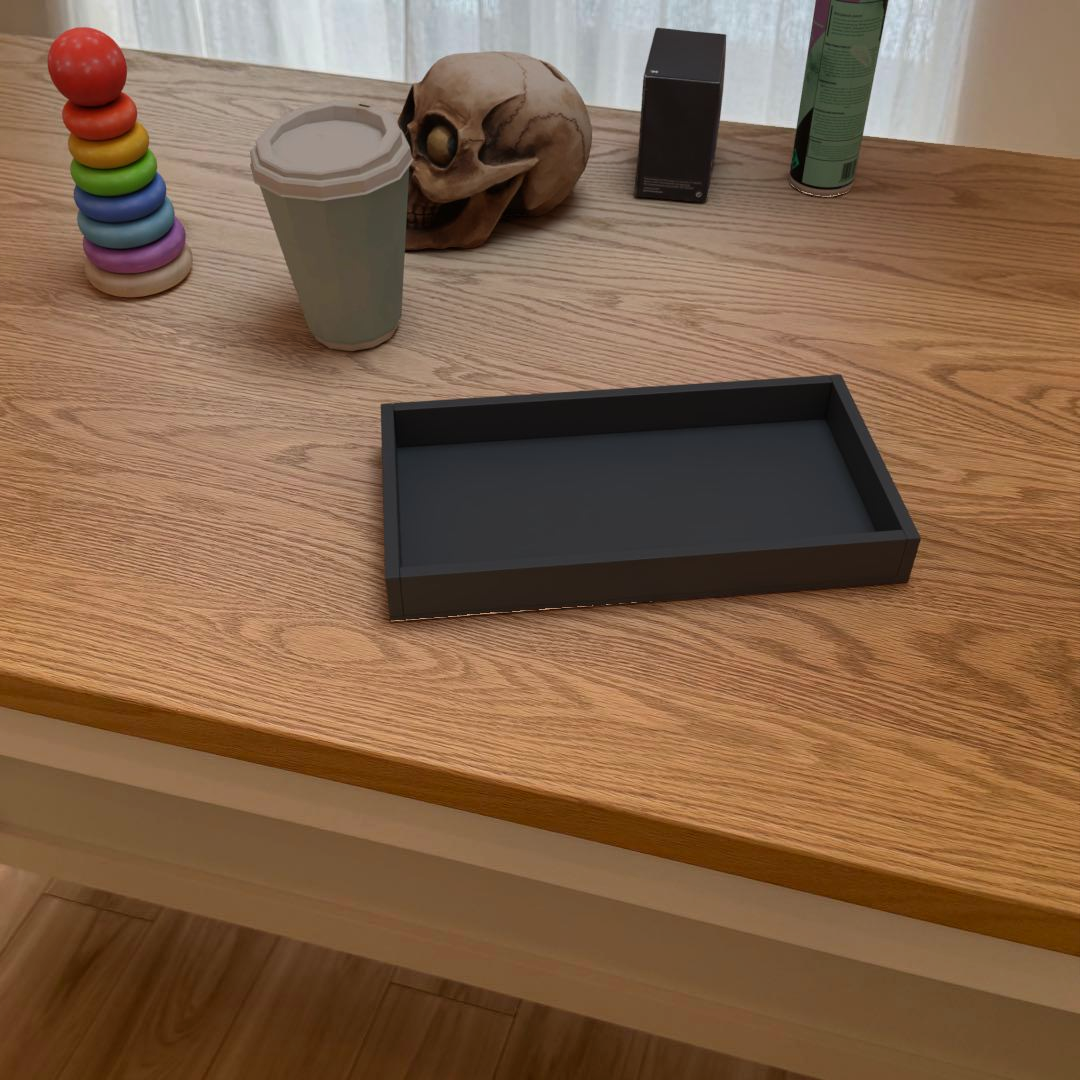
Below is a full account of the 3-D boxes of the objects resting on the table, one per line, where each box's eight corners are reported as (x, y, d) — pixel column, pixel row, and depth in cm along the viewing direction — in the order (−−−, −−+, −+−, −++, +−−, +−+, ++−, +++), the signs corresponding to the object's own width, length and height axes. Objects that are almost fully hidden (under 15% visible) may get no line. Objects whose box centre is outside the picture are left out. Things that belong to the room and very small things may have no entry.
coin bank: (338, 235, 99) (335, 65, 91) (446, 167, 112) (452, 12, 103) (511, 289, 95) (525, 115, 86) (604, 212, 107) (623, 54, 99)
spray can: (855, 172, 108) (902, -74, 94) (850, 201, 104) (897, -51, 90) (792, 164, 109) (829, -80, 95) (784, 192, 105) (822, -58, 91)
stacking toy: (77, 262, 97) (7, 18, 84) (178, 238, 99) (125, -3, 86) (102, 312, 92) (31, 59, 79) (207, 285, 94) (156, 37, 81)
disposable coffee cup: (370, 385, 85) (347, 182, 75) (246, 342, 89) (207, 143, 78) (452, 311, 92) (442, 115, 81) (334, 274, 95) (309, 82, 85)
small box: (710, 205, 103) (723, 81, 96) (632, 199, 104) (639, 76, 97) (717, 148, 111) (730, 30, 104) (644, 143, 112) (652, 25, 105)
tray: (832, 417, 82) (841, 373, 80) (908, 582, 71) (921, 538, 69) (385, 447, 80) (380, 403, 78) (390, 623, 69) (384, 578, 66)
